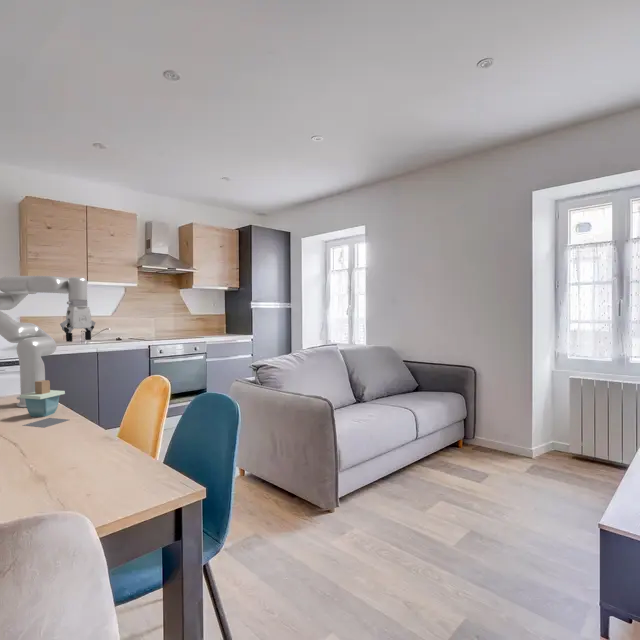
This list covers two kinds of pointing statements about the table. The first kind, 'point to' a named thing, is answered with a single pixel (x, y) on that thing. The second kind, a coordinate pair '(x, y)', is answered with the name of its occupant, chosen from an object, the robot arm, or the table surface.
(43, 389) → the lid
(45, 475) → the table surface
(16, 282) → the robot arm
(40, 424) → the mat
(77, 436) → the table surface
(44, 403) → the flower pot
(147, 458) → the table surface
